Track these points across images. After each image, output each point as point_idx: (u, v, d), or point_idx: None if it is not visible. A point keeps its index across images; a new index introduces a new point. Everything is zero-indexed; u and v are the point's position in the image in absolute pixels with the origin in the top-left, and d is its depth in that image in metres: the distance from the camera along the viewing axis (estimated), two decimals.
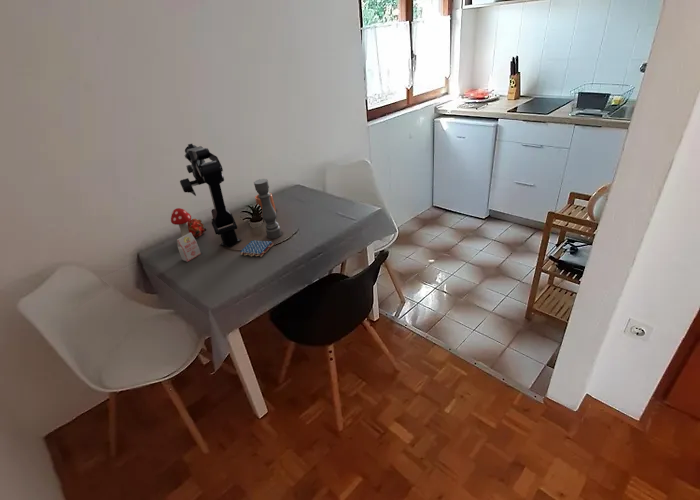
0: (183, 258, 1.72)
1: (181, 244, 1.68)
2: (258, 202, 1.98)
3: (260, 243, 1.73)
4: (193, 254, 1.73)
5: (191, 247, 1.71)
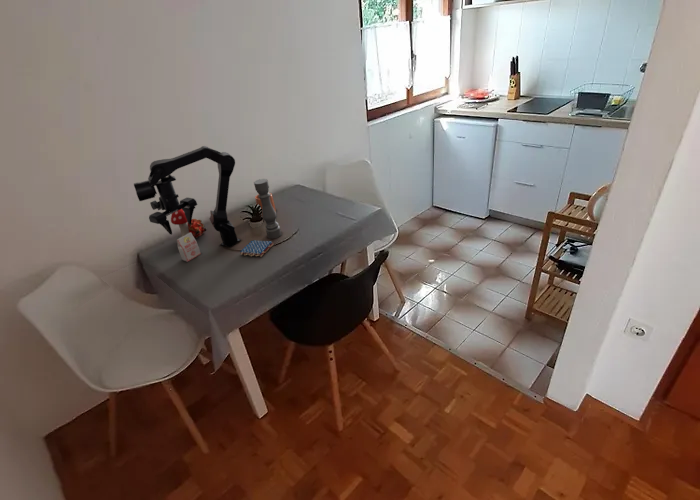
0: (183, 258, 1.72)
1: (181, 244, 1.68)
2: (258, 202, 1.98)
3: (260, 243, 1.73)
4: (193, 254, 1.73)
5: (191, 247, 1.71)
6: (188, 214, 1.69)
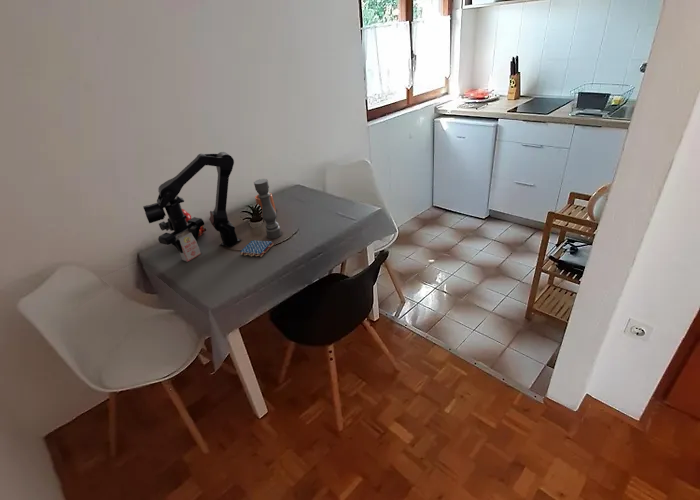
0: (183, 258, 1.72)
1: (181, 244, 1.68)
2: (258, 202, 1.98)
3: (260, 243, 1.73)
4: (193, 254, 1.73)
5: (191, 247, 1.71)
6: (194, 235, 1.72)
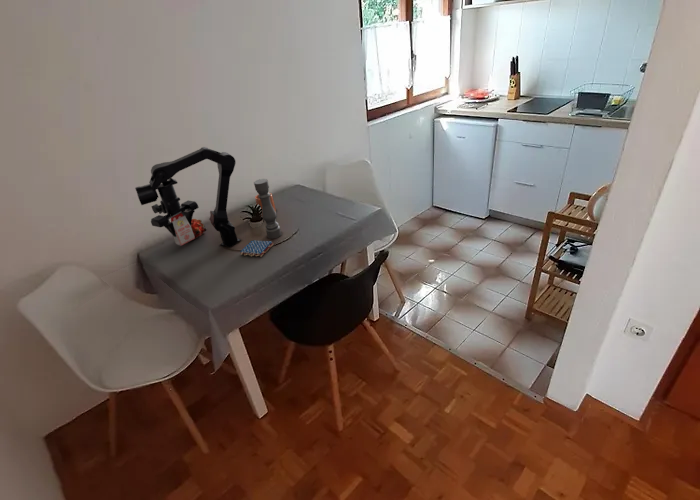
0: (176, 242, 1.68)
1: (174, 227, 1.65)
2: (258, 202, 1.98)
3: (260, 243, 1.73)
4: (187, 238, 1.69)
5: (184, 231, 1.67)
6: (187, 218, 1.69)
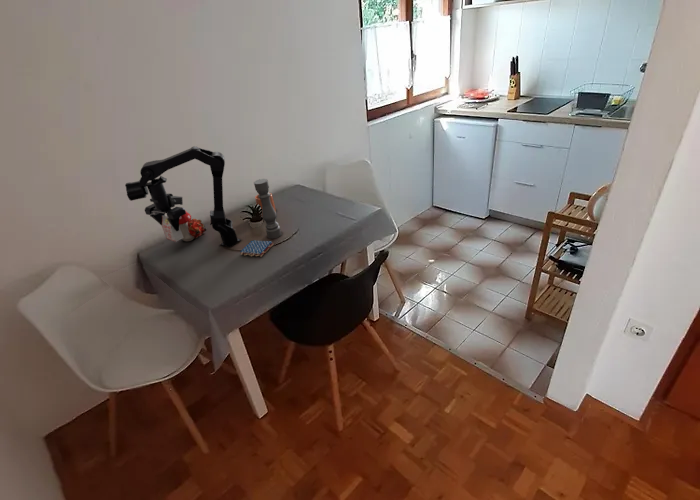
0: None
1: (162, 221, 1.70)
2: (258, 202, 1.98)
3: (260, 243, 1.73)
4: (170, 237, 1.71)
5: (167, 230, 1.69)
6: None
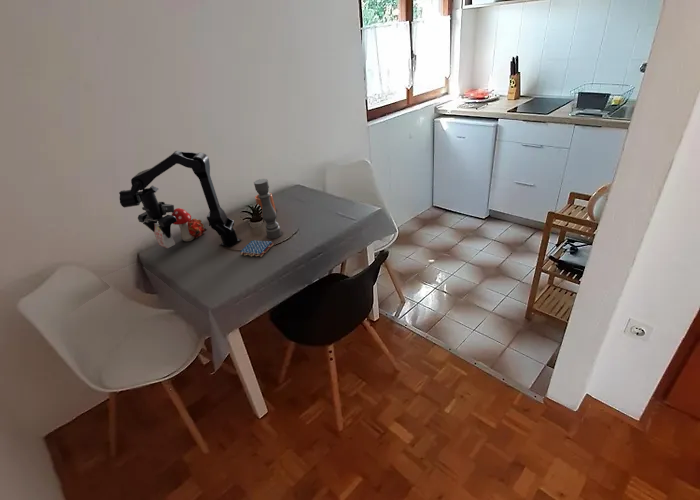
0: None
1: (155, 229, 1.77)
2: (258, 202, 1.98)
3: (260, 243, 1.73)
4: (162, 243, 1.77)
5: (159, 237, 1.76)
6: None
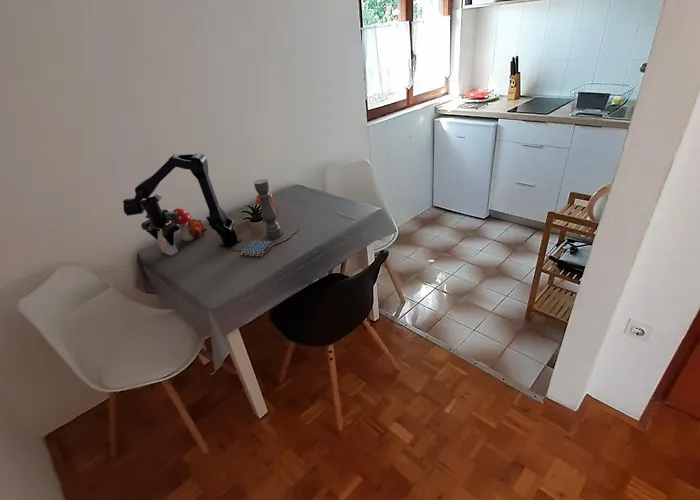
0: None
1: (158, 236, 1.78)
2: (258, 202, 1.98)
3: (260, 243, 1.73)
4: (165, 251, 1.79)
5: (162, 244, 1.77)
6: None
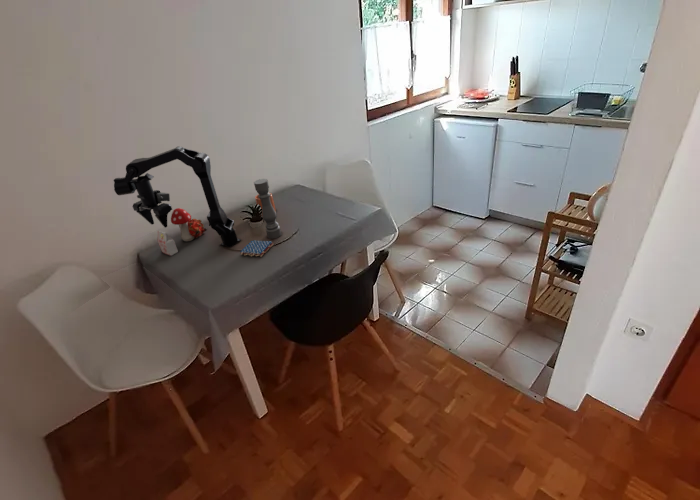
0: None
1: (158, 236, 1.78)
2: (258, 202, 1.98)
3: (260, 243, 1.73)
4: (165, 251, 1.79)
5: (162, 244, 1.77)
6: None
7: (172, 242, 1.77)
